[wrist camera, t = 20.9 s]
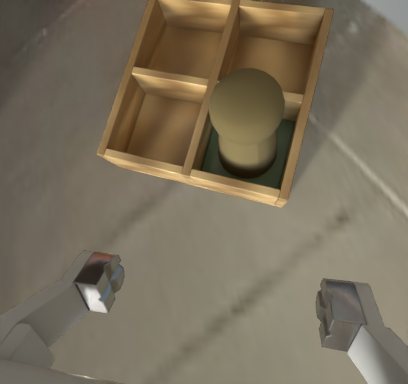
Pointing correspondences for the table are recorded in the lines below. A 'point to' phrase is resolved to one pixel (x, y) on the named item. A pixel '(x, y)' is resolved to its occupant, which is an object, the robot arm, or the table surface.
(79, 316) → the robot arm
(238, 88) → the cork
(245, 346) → the table surface
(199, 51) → the wooden compartment tray
